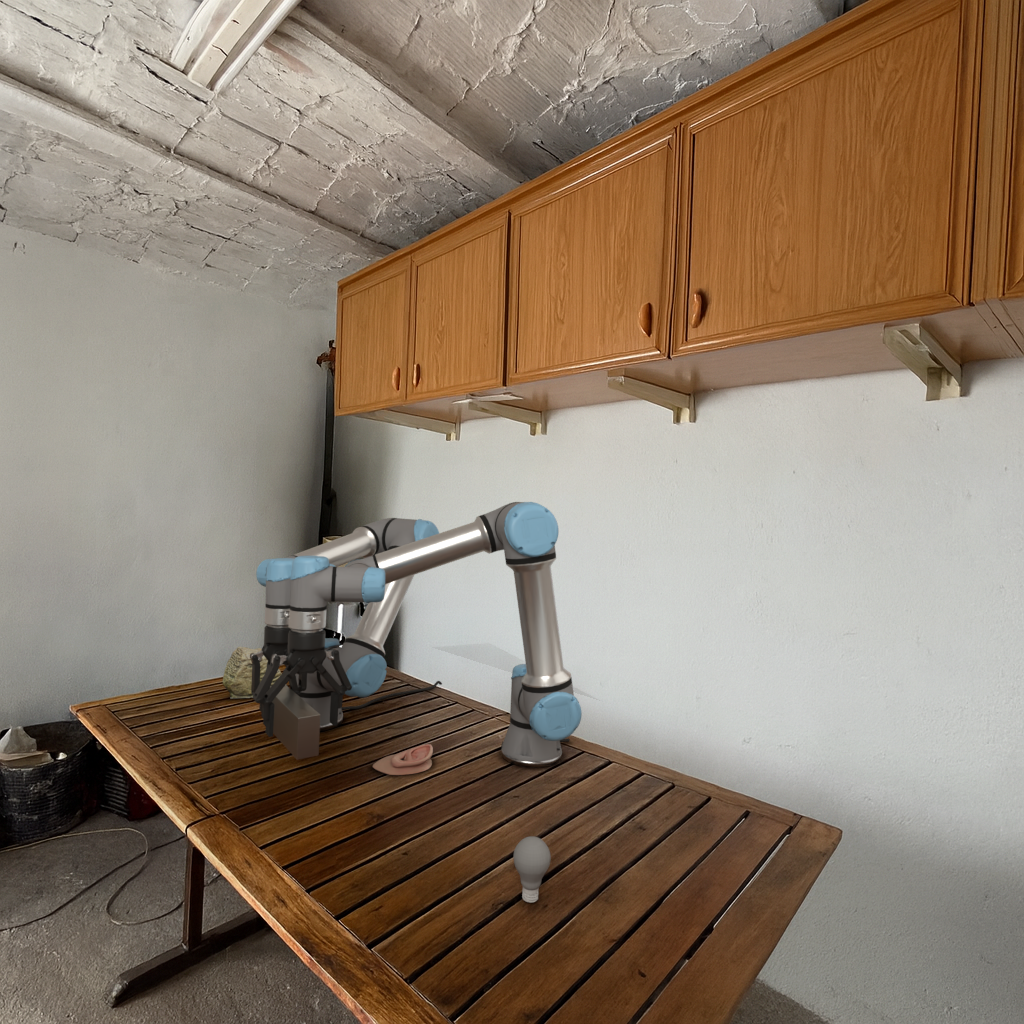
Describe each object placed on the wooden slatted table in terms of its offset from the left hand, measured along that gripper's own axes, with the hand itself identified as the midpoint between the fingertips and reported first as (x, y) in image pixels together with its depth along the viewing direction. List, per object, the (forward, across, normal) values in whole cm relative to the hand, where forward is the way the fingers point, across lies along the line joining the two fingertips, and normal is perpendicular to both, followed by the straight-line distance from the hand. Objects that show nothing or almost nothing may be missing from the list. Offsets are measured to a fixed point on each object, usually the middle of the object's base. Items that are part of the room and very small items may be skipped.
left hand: (278, 723), depth 149 cm
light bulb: (+10, +19, -72) cm, 76 cm away
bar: (+1, 0, -9) cm, 9 cm away
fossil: (+10, +9, +55) cm, 56 cm away
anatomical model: (+10, +25, -16) cm, 31 cm away
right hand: (-4, 0, -18) cm, 18 cm away
